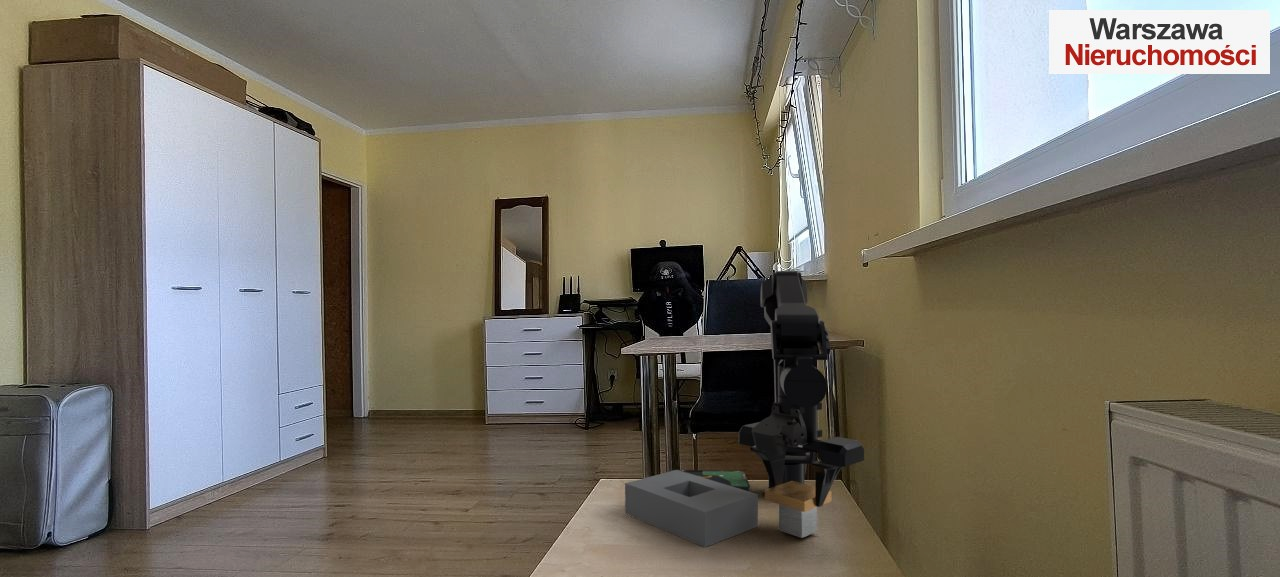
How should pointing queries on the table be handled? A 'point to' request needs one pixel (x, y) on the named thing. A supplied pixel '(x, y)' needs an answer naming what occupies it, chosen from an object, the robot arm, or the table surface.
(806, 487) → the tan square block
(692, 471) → the disk drive
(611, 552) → the table surface
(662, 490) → the gray rectangular block
